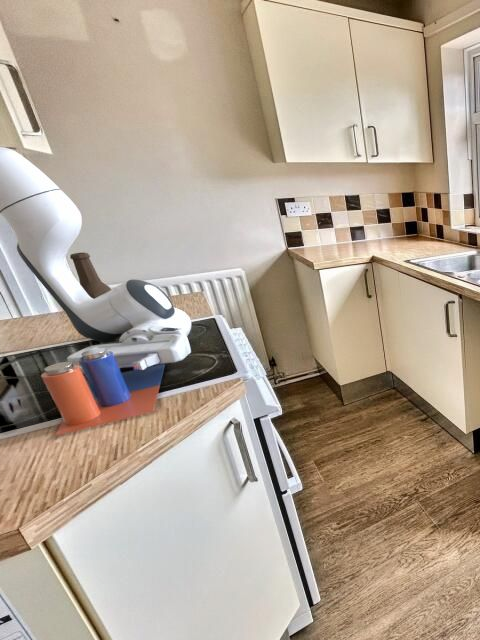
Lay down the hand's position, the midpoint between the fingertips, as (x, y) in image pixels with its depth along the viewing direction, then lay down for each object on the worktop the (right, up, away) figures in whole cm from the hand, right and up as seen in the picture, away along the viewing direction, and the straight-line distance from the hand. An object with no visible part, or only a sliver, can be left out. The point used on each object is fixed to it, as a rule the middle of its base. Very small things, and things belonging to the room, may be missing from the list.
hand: (110, 370), depth 86 cm
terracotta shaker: (0, -9, -5) cm, 10 cm away
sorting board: (-1, -6, +3) cm, 7 cm away
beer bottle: (-32, +7, +34) cm, 47 cm away
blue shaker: (+1, -6, 0) cm, 6 cm away
